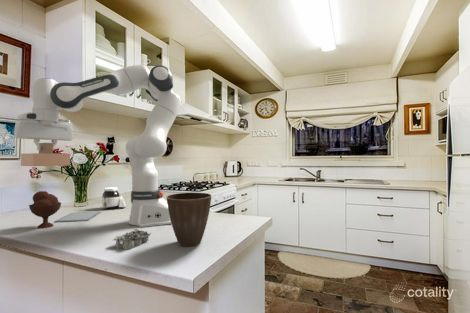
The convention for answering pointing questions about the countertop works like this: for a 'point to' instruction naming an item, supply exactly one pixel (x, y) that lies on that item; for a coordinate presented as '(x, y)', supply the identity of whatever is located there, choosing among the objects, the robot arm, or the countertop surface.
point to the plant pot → (189, 216)
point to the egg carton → (131, 239)
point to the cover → (45, 157)
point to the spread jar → (112, 198)
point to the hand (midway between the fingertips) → (45, 150)
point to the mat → (78, 217)
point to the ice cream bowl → (44, 207)
